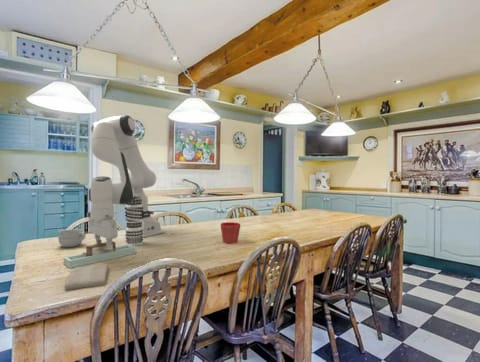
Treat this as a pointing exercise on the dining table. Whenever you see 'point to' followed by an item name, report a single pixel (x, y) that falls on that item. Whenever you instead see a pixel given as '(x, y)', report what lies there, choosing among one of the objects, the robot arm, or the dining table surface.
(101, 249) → the wooden block
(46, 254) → the dining table surface
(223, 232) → the flower pot
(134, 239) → the decorative candle
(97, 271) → the washcloth
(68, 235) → the teacup
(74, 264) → the ledge
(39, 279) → the dining table surface
